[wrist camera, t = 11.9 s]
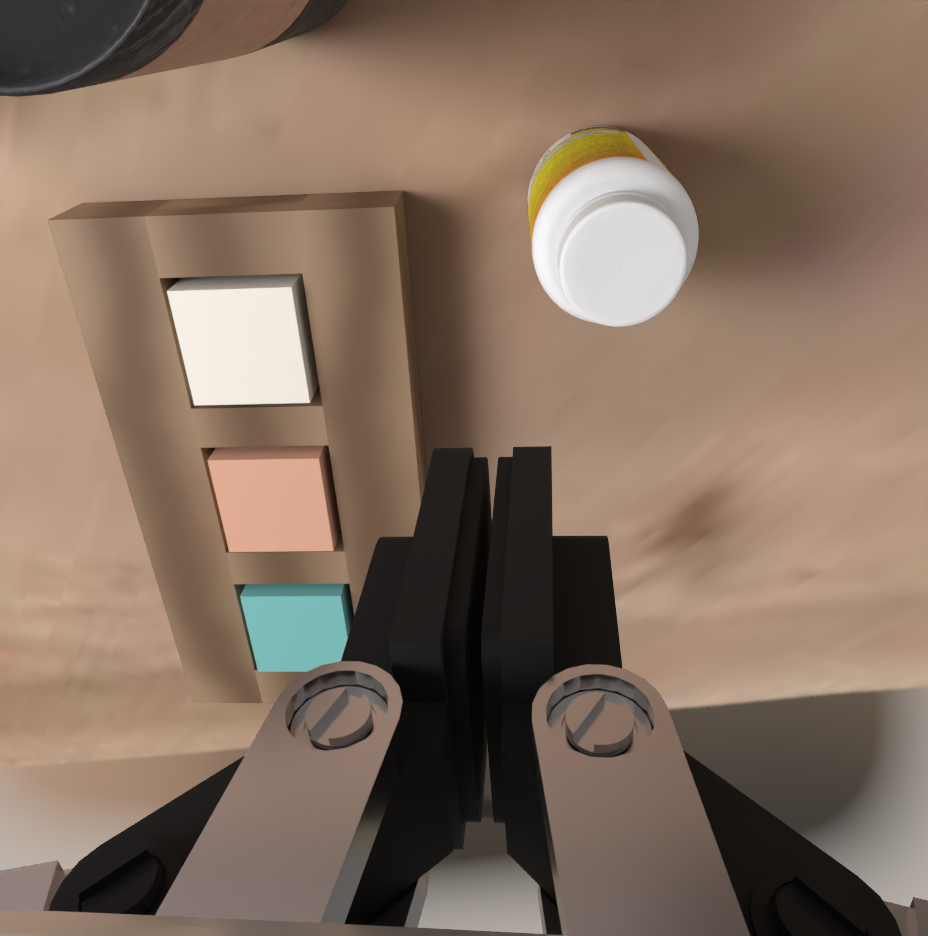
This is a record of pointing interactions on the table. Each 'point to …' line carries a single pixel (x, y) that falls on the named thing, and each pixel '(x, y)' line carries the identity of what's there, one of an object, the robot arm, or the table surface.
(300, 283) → the ivory button
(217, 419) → the console
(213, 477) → the terracotta button
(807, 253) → the table surface
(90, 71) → the travel mug
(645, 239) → the supplement bottle
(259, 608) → the teal button
